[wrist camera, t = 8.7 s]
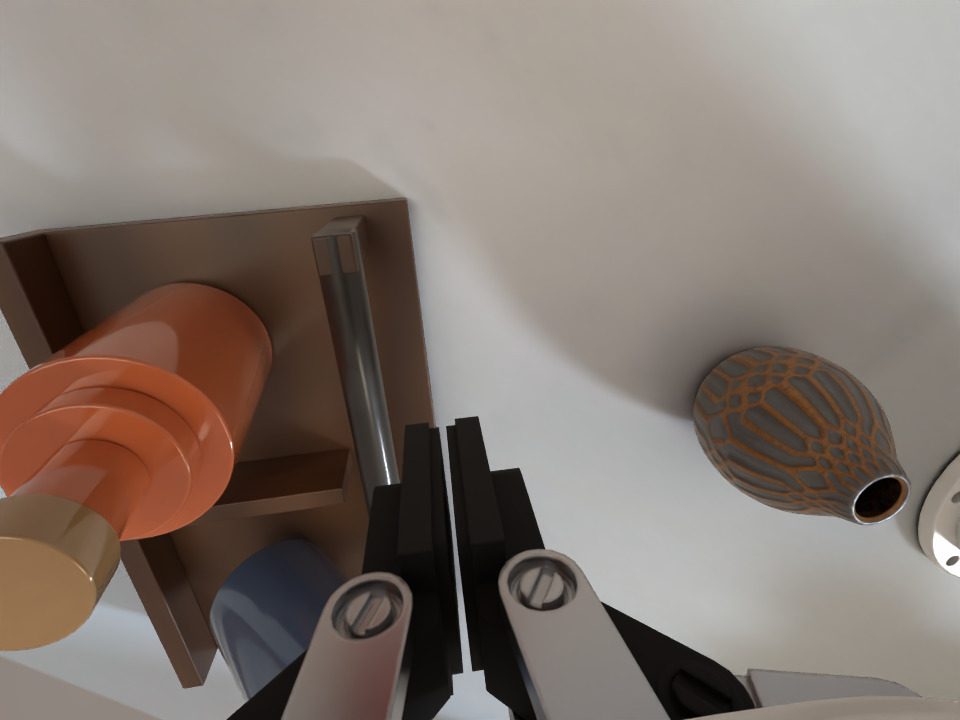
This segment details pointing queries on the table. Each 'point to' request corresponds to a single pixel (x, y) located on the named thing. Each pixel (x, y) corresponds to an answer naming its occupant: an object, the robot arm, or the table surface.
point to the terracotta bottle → (119, 447)
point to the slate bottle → (272, 610)
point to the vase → (800, 436)
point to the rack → (287, 393)
